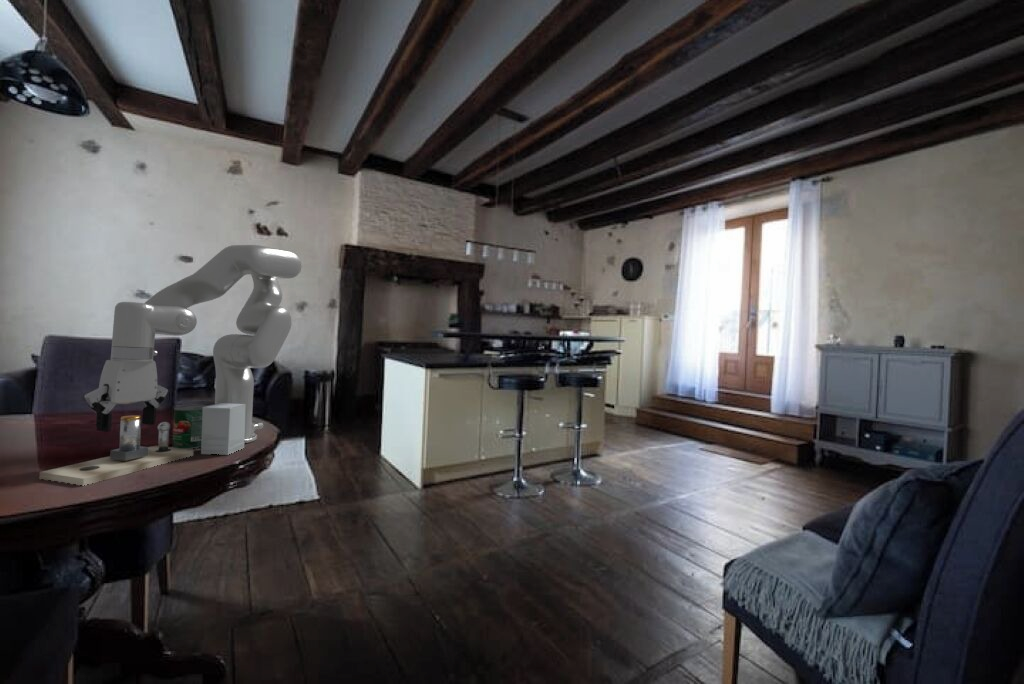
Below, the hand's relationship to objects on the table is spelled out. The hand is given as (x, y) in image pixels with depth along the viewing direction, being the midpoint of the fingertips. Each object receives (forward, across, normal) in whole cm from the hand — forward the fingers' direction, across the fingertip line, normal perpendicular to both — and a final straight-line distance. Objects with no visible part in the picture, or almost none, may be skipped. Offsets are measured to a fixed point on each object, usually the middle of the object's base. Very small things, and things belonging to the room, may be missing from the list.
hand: (127, 427), depth 101 cm
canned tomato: (+9, -19, -3) cm, 21 cm away
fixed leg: (+7, -9, 0) cm, 12 cm away
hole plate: (+9, 0, 0) cm, 9 cm away
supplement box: (+9, -18, +9) cm, 22 cm away
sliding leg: (+7, -1, 0) cm, 7 cm away
